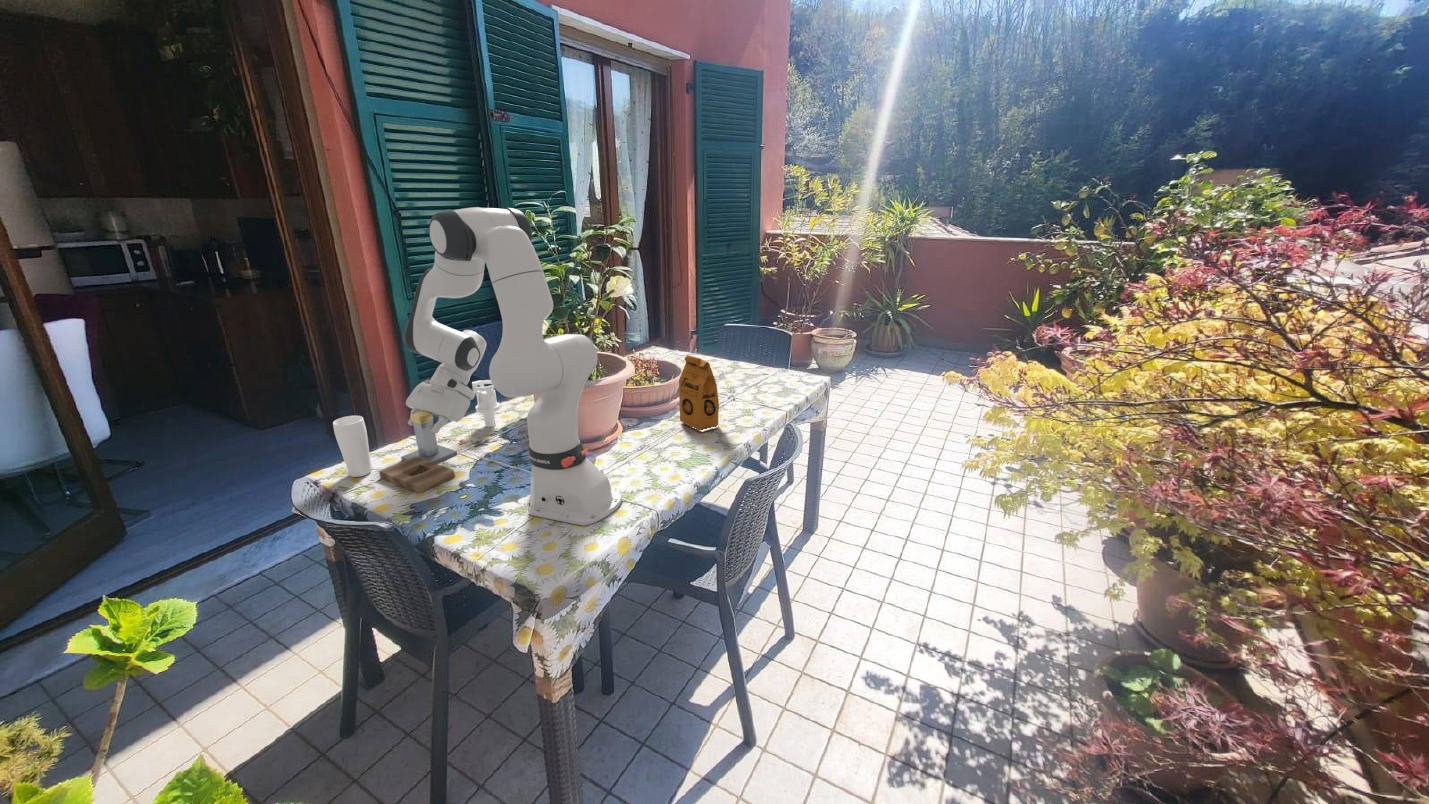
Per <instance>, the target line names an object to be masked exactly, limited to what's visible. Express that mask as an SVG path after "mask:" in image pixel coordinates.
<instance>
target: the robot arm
mask: <svg viewBox="0 0 1429 804" xmlns="http://www.w3.org/2000/svg"><path fill="white" fill-rule="evenodd" d="M428 234H429V239H430V242H431V245H432V247H433V250H435V251H434V263H433V266H432V267H430V268H428V269H426V270H425V271H423V273H422V275H420V278H419V280H418V281H417V286H416V290H415V292H414V297H413V300H412V306H411V309H410V313H409V318H408V321H407V323H406V325H405V327H404V331H403V333H402V340H403V342H404V343H403V344H404V345H405V347H406V348H407V350H408V351H409V352H411V353H414V354H416V355H420V356H424V357H426V358H429V359H432V360H435V361H437V362H439V363H441V364H439V365H438V366H437V368H436V370H435V372H434V374H433V375H432V376H431V378H430V379H425V380H423V381H421V382H420V383H419V384H417V385H416V386H415V388H414V389H412V391H411V393H410V394H409V396H408V397H407V398H406V401H405V405H406V406H407V407H408V408H409V409H411V410H410V415H409V417H410V418H409V420H407V424H408V425H409V426H412V427H414V426H413V422H412V420H411V414H414V413H417V412H420V411H423V410H424V411H427V412H431V413H432V414H433V417H434V416H435V417H438V420H437V421H436V423H433V424H432V426H431V428H430V431H431V432H433V433H435V434H438V433H440V430H441V429H442V428H443V427H444V426H446V425H447V424H448V422H449V421H452V422H455V423H459V422H460V421H461V420H462V419H463V418H464V417H465V414H466V413H467V412H468V409H469V407H470V405H471V400H474V399H475V397H476V394H475V393H474V392H473V389H471V388H470V387H469V386H468V384H469V382H470V378H471V376H472V374H473V373H474V372H476V370H477V368H478V367H479V365H480V362H481V360H482V359H483V357H484V354H485V351H486V348H487V341H486V339H485V338H484V337H483V335H480V334H479V333H477V332H476V331H474V330H472V329H471V330H470V329H464V330H462V331H460V330H458V329H455V328H452V327H449V326H447V325H445V324H443V323H440V322H439V321H437V320H436V319H435V317H433V314H434V310H435V307H436V303H437V299H438V298H445V299H446V298H447V299H462V298H465V297H468V296H472V295H473V294H475V293H476V292H477V291H478V290H479V289H480V288H481V287H482V283H483V281H484V276H485V274H484V273H485V267H486V268H487V270H488V271H487V272H488V275H489V279H490V282H491V285H492V287H493V291H494V294H495V298H496V300H497V304H498V307H499V311H500V315H501V320H502V333H501V334H502V335H501V340H500V343H499V346H498V349H497V351H496V352H495V354H494V355H493V357H492V358H491V361H490V364H489V366H488V367H489V368H488V374H489V380H491V382H492V384H491V385H493V386H494V387H495V388H494V390H495V391H496V392H498V393H500V394H501V395H502V396H504V397H506V398H511V399H512V398H521V397H530V396H533V395H536V394H539V397H538V398H537V399H536V401H535V402H534V404H533V405H532V406H531V407H530V408H529V410H528V413H527V415H526V424H527V430H528V431H527V433H528V440H529V444H528V448H527V449H528V454H527V455H528V459H529V462H530V464H531V470H530V471H531V472H530V495H529V500H528V502H529V508H528V514H529V515H530V516H535V517H539V518H544V519H549V520H554V521H558V522H559V521H560V522H563V523H568V524H573V525H578V526H588V525H591V524H595V523H597V522H599V521H600V520H603V519H604V518H606V517H607V516H610V514H612V513H613V512H614V511H616V510H617V509H618V508H619V507H620V506H621V503H622V502H623V496H622V495H621V494H619V493H618V492H616V491H613V490H612V486H611V483H610V480H609V478H608V476H607V475H605V474H604V473H605V472H604V471H603V469H602V468H598V467H597V466H596V465H595V464H594V463H593V462H592V461H590V459H589V458H588V456H587V454H588V453H590V451H589V447H587V448H585V447H583V446H584V445H583V444H582V442H581V440H580V437H579V436H580V435H579V426H578V425H579V424H578V419H579V417H578V413H579V412H578V411H579V403H580V399H581V396H582V392H583V390H584V387H585V385H586V382H587V381H588V379H589V378H590V376H591V374H592V373H593V372H594V371H595V369H596V367H597V364H598V352H597V348H596V346H595V344H594V343H593V341H592V339H590V338H589V337H588V336H587V335H585V334H579V333H576V334H574V333H572V334H571V333H565V334H559V335H554V336H551V337H546V338H544V334H543V327H544V322H545V320H547V319H548V317H550V316H551V314H552V312H553V309H554V301H553V298H552V293H551V292H550V288H549V286H548V285H549V284H548V281H547V278H546V276H545V272H544V270H543V265H542V264H541V263H542V262H541V261H540V259H539V256H538V254H537V252H536V249H535V247H534V246H533V243H532V240H533V239H532V238H533V230H532V226H531V223H530V221H529V219H528V218H527V216H526V215H525V213H524V212H522V211H520V210H519V209H515V208H511V207H501V208H497V207H480V206H476V207H475V206H473V207H465V208H464V207H463V208H460V209H459V208H458V209H451V208H450V209H445V210H441V211H438V212H437V213H435V214H433V215H432V217H431V218H430V221H429V225H428ZM485 265H486V266H485ZM584 448H585V449H584Z"/></svg>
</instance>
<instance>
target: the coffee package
mask: <svg viewBox="0 0 1429 804" xmlns="http://www.w3.org/2000/svg"><path fill="white" fill-rule="evenodd" d="M684 361H685V364H684V366H683V369H682V371H681V375H680V376H679V379H678V389H679V390H678V393H679V394H678V395H679V396H678V399H679V405H678V408H679V422H680V421H681V423H683V424H684V425H686V426H689V427H690V428H692V427H694V428H696V429H698V430H703V429H707V428H711V427H716V426H717V425H718V426H719V411H720V402H719V393H718V384H717V381H716V378H715V375H714V373H713V369H712V368H711V364H710V362H709V361H706V360H704V359H702V358H699V357H695V356H692V355H689V354H687V355H685V357H684ZM696 429H695V430H696ZM698 430H697V431H698Z"/></svg>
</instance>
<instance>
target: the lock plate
mask: <svg viewBox="0 0 1429 804" xmlns="http://www.w3.org/2000/svg"><path fill="white" fill-rule="evenodd" d="M420 472H421V473H420ZM378 473H379V478H380V479H382V480H384V481H386V482H389V483H392V484H394V485H397V486H399V487H402V488H405V489H406V490H409V491H412V492H414V493H417V494H423V493H424V492H426V491H428V490H430V489H432V488H435V487H436V486H438V485H441V484H443V483H445V482H447V481H449V480H451V479H454V478H455V477H456V475H455V471H454V469H452V468H450V467H446V466H444V465H441V464H438V463H436V464H435V463H433V462H430V461H427V460H424V459H421V458H419V457H416V456H414V457H412V458H409V459H407V460H405V461H403V460H401V462H398V463H395V464H392V465H389V466H388V467H385V468H383V469H381V470H378ZM417 473H419V474H417ZM416 474H417V475H416ZM413 475H415V476H413Z"/></svg>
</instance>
